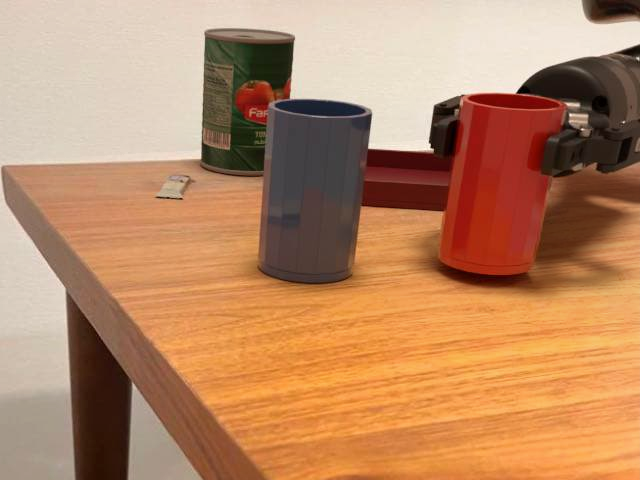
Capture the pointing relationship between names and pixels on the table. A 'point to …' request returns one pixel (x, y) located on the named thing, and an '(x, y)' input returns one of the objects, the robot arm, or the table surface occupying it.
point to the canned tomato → (242, 95)
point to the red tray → (405, 179)
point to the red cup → (498, 182)
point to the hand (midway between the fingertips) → (493, 148)
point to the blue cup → (312, 188)
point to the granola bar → (175, 186)
